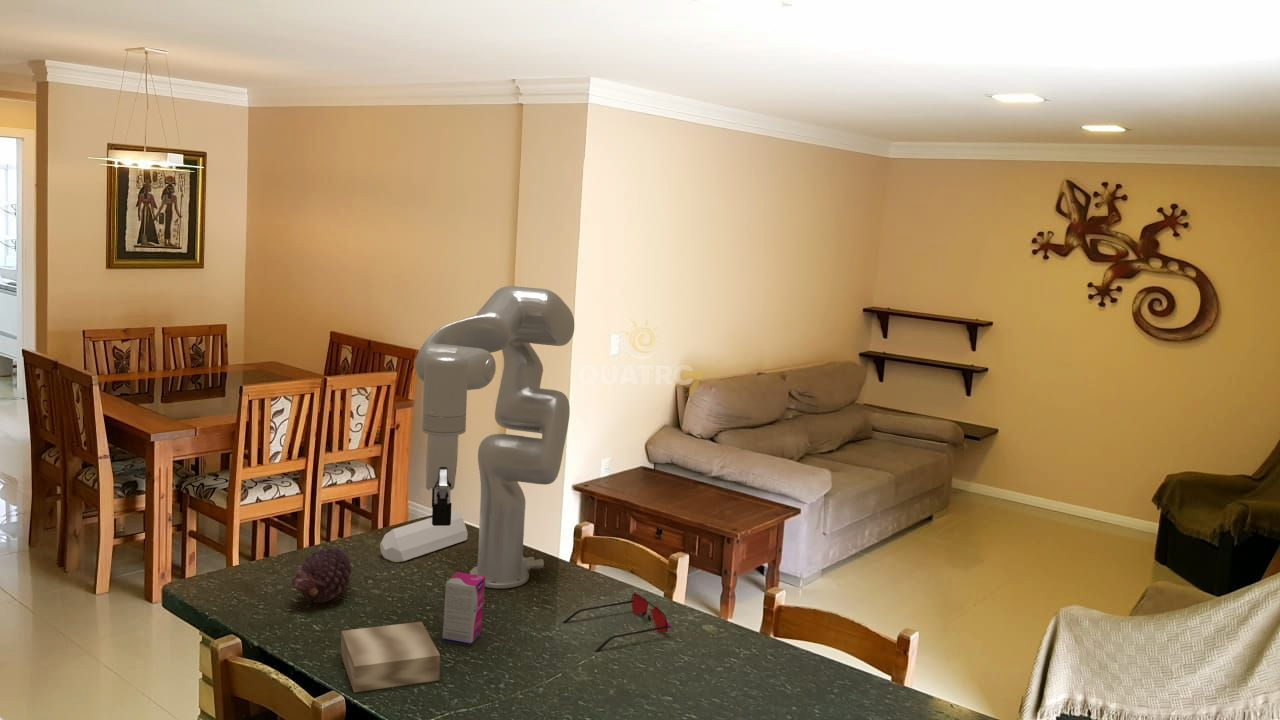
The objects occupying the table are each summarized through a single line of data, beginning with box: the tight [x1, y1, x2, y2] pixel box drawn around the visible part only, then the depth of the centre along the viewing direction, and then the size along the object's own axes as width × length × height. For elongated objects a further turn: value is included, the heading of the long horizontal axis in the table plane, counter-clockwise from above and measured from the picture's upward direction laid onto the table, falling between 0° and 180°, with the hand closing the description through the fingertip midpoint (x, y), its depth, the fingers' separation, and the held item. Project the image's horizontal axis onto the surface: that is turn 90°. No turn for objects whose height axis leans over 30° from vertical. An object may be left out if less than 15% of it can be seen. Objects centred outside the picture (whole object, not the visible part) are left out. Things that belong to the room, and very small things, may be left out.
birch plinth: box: [340, 621, 441, 693], centre depth 171 cm, size 14×14×4 cm
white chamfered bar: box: [379, 509, 468, 563], centre depth 229 cm, size 7×7×24 cm
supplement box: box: [441, 571, 486, 646], centre depth 184 cm, size 6×6×12 cm
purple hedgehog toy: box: [291, 547, 352, 604], centre depth 197 cm, size 18×10×10 cm, turn 169°
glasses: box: [562, 592, 672, 653], centre depth 192 cm, size 14×16×5 cm
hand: (440, 515), depth 178 cm, fingers open, 9 cm apart
